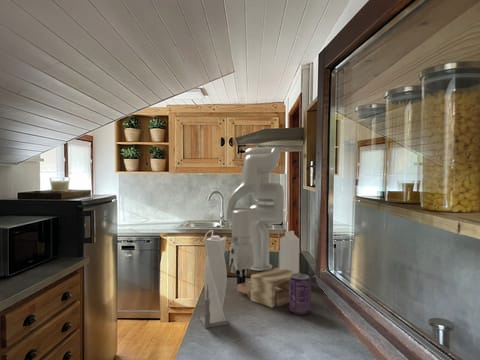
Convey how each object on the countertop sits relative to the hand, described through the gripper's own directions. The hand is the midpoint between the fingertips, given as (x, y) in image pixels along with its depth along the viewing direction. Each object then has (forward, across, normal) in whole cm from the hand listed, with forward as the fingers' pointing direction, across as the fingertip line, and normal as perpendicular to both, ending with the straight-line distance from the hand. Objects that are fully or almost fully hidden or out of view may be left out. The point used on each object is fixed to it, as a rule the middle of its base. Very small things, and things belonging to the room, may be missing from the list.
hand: (241, 285), depth 139 cm
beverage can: (+1, -4, -32) cm, 32 cm away
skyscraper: (+1, -29, -17) cm, 33 cm away
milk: (+1, +20, -9) cm, 22 cm away
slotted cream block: (+1, 0, -18) cm, 18 cm away
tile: (+2, 0, -10) cm, 10 cm away
